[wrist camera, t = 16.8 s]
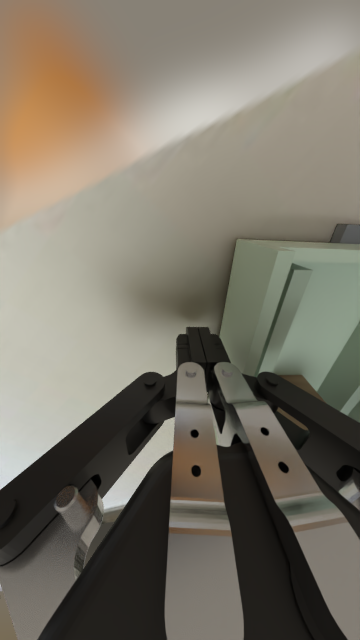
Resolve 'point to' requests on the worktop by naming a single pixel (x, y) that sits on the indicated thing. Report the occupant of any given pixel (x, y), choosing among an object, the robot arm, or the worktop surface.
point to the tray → (297, 315)
